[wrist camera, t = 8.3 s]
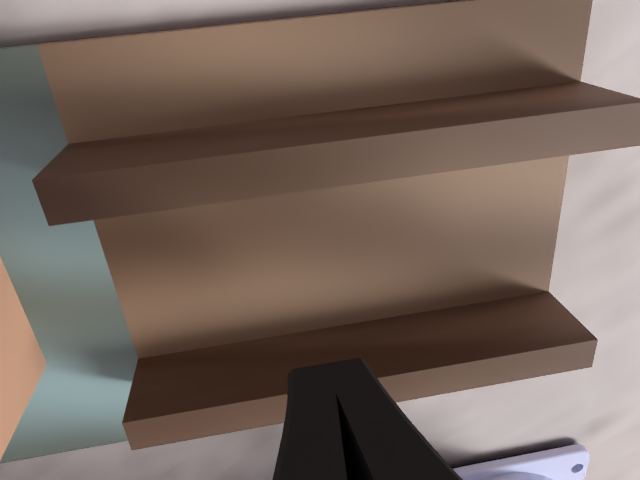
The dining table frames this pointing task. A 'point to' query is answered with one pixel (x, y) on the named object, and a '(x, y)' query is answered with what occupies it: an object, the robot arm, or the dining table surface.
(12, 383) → the terracotta block
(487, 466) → the robot arm
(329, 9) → the dining table surface
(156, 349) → the chute
